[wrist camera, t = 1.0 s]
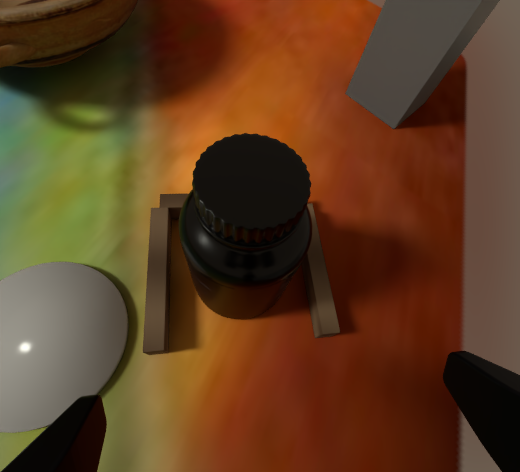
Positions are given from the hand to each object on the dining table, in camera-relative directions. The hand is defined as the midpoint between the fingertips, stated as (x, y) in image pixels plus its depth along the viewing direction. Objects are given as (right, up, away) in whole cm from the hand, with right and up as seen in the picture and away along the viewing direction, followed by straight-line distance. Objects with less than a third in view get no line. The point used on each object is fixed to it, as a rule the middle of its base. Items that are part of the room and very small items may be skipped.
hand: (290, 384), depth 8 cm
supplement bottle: (-2, +1, +15) cm, 15 cm away
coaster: (-14, -3, +11) cm, 19 cm away
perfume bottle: (+14, +19, +26) cm, 35 cm away
